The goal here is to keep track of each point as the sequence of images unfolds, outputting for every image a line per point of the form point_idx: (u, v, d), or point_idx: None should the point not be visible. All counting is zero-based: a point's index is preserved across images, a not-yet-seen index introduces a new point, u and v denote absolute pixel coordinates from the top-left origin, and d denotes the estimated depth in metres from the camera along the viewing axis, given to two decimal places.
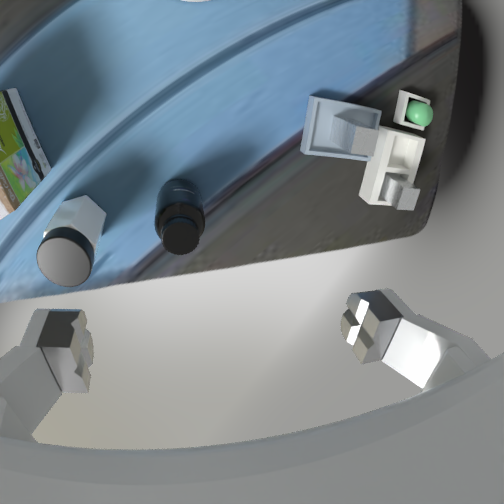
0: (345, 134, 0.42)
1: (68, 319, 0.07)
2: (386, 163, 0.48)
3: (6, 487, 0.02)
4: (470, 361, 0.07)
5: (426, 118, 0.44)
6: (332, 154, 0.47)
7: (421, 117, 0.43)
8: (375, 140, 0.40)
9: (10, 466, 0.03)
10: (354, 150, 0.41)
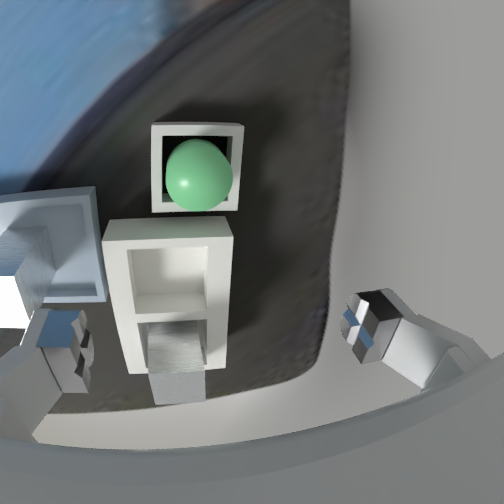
0: None
1: (68, 319, 0.07)
2: (130, 308, 0.23)
3: (6, 487, 0.02)
4: (470, 361, 0.07)
5: (209, 186, 0.19)
6: None
7: (187, 189, 0.18)
8: (16, 298, 0.15)
9: (10, 466, 0.03)
10: None
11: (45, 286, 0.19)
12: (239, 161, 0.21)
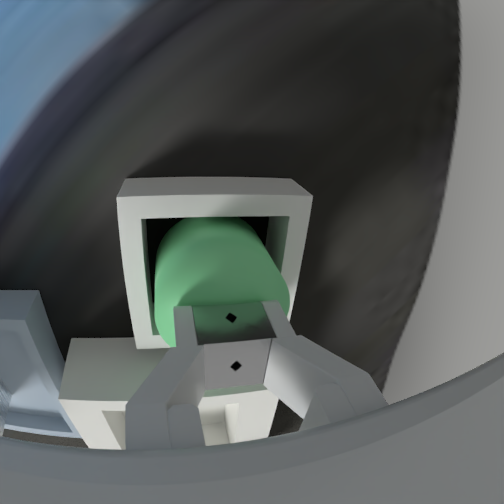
0: None
1: (219, 314, 0.08)
2: None
3: (6, 487, 0.02)
4: (351, 405, 0.06)
5: None
6: None
7: None
8: None
9: (10, 466, 0.03)
10: None
11: None
12: (298, 262, 0.11)
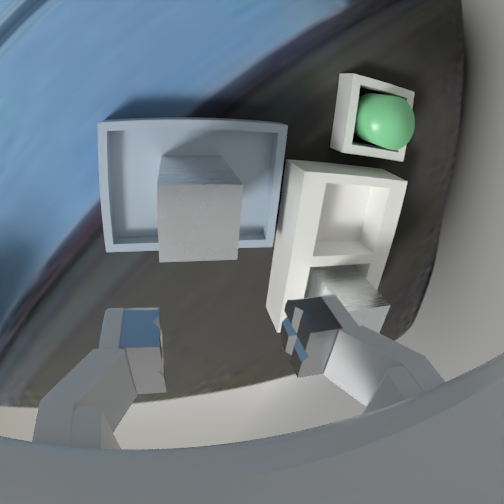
0: None
1: (148, 317, 0.08)
2: (309, 250, 0.23)
3: (6, 487, 0.02)
4: (416, 384, 0.06)
5: (400, 130, 0.20)
6: None
7: (386, 128, 0.19)
8: (233, 215, 0.15)
9: (10, 466, 0.03)
10: (169, 253, 0.15)
11: None
12: None
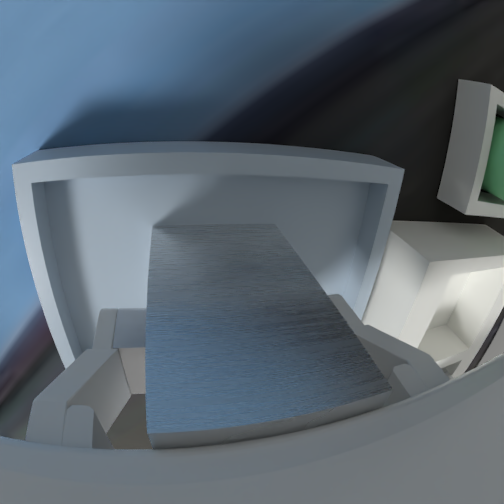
0: None
1: (142, 318, 0.07)
2: None
3: (6, 487, 0.02)
4: (421, 382, 0.06)
5: None
6: None
7: None
8: None
9: (10, 466, 0.03)
10: None
11: None
12: None
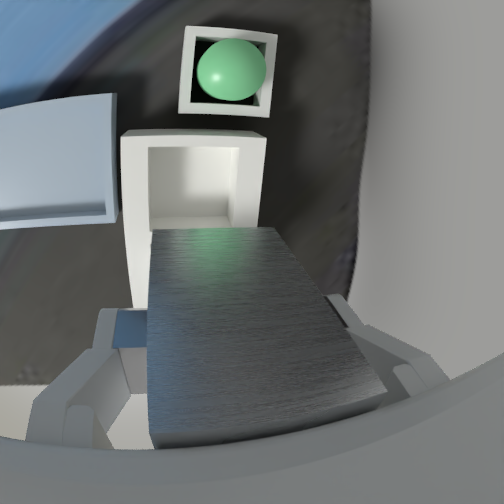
0: None
1: (142, 318, 0.07)
2: (144, 224, 0.20)
3: (6, 487, 0.02)
4: (421, 381, 0.06)
5: (242, 76, 0.17)
6: (23, 222, 0.19)
7: (221, 76, 0.16)
8: None
9: (10, 466, 0.03)
10: None
11: None
12: (272, 67, 0.18)
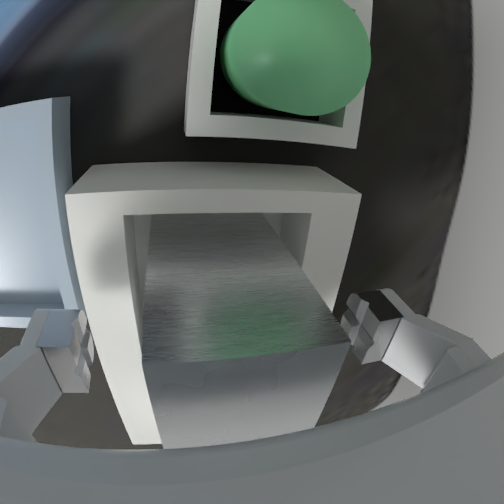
0: None
1: (67, 319, 0.07)
2: (131, 347, 0.11)
3: (6, 487, 0.02)
4: (470, 361, 0.07)
5: (328, 64, 0.07)
6: None
7: (284, 61, 0.07)
8: (317, 392, 0.07)
9: (10, 466, 0.03)
10: None
11: None
12: None
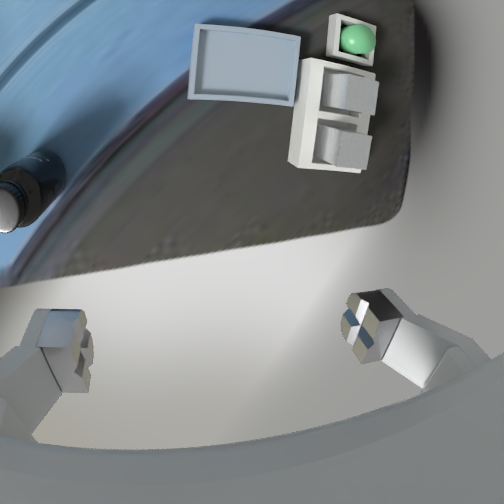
0: (336, 88, 0.31)
1: (68, 319, 0.07)
2: (316, 105, 0.33)
3: (6, 487, 0.02)
4: (470, 361, 0.07)
5: (366, 42, 0.30)
6: (230, 97, 0.32)
7: (357, 40, 0.30)
8: (374, 94, 0.29)
9: (10, 466, 0.03)
10: (349, 105, 0.30)
11: None
12: None
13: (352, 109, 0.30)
